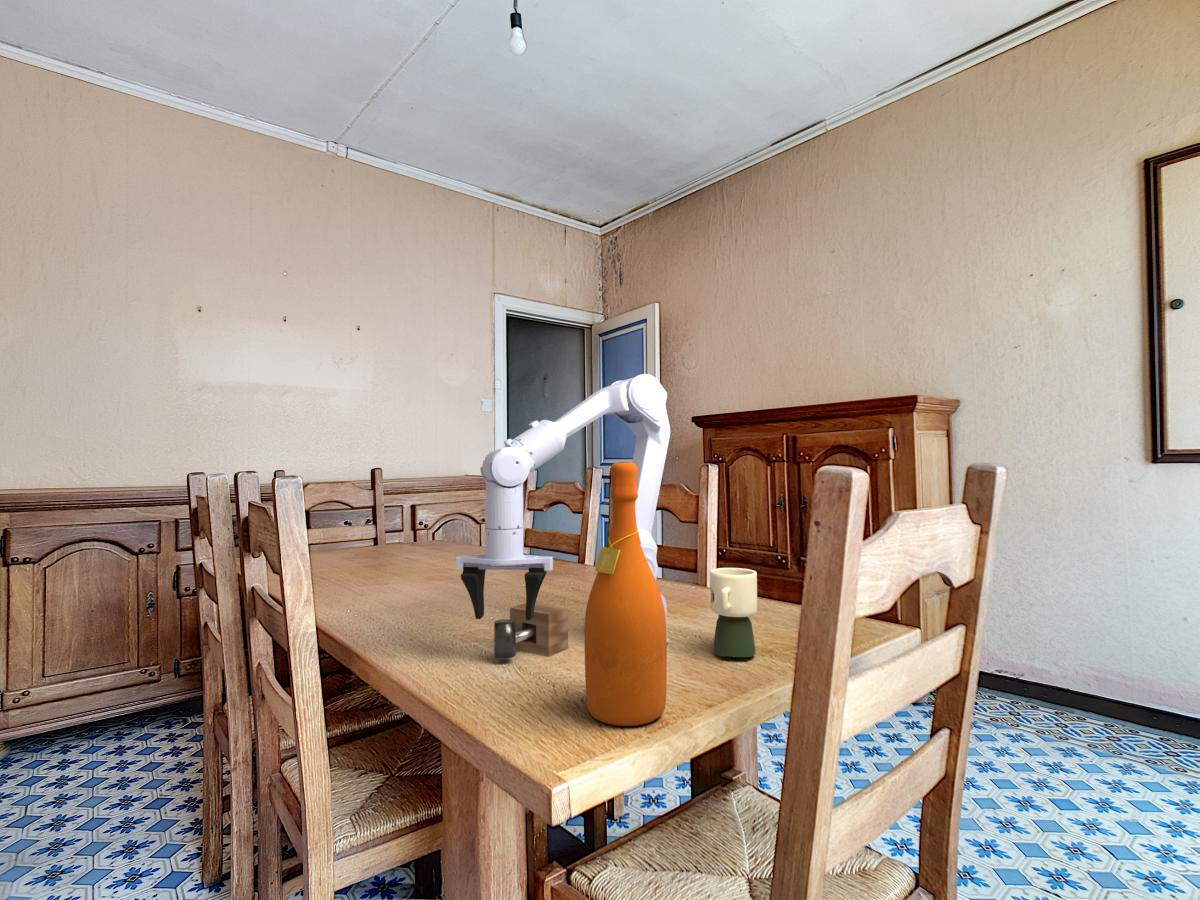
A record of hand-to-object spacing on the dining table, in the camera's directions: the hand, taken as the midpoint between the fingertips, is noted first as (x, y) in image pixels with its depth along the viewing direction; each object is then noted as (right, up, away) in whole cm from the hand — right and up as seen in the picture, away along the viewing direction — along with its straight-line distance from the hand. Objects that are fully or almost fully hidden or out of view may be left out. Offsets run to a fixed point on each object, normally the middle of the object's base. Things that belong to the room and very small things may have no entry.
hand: (504, 618), depth 91 cm
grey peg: (+3, -6, +4) cm, 7 cm away
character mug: (+35, -7, +2) cm, 36 cm away
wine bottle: (+17, -6, -19) cm, 27 cm away
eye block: (+5, -7, +7) cm, 10 cm away
